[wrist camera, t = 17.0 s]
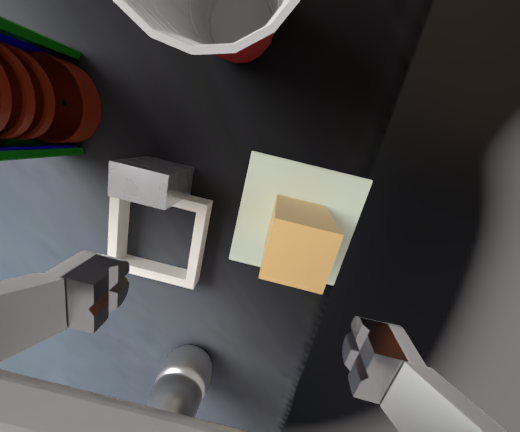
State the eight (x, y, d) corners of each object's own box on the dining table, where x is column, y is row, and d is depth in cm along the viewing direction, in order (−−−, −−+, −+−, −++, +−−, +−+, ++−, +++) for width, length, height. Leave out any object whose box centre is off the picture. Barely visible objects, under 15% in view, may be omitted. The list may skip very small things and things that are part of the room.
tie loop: (124, 149, 26) (79, 153, 20) (217, 173, 26) (199, 182, 20) (118, 259, 30) (78, 287, 24) (198, 280, 30) (178, 313, 24)
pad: (252, 150, 25) (251, 150, 24) (371, 179, 24) (373, 180, 24) (229, 256, 28) (228, 259, 28) (332, 282, 28) (333, 285, 28)
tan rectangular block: (277, 193, 25) (274, 217, 17) (325, 206, 25) (344, 235, 17) (265, 238, 27) (258, 278, 19) (311, 249, 27) (322, 294, 19)
